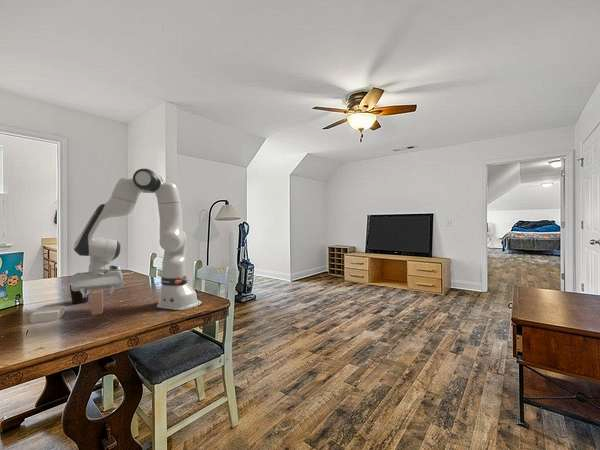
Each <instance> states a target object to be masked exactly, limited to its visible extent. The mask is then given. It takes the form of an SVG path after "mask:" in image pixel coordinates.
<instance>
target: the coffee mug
mask: <svg viewBox="0 0 600 450" xmlns="http://www.w3.org/2000/svg"><path fill="white" fill-rule="evenodd" d="M71 284H72V282H71V283H69V291H70V296H71V304H73V305H82V304H86V303H88V302H89V295H90V290H85V291H84V293H87V298H83V297H82V296H83V295H82V293H81V291H73V290H72V289H71Z"/></svg>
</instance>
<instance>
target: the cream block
mask: <svg viewBox="0 0 600 450" xmlns="http://www.w3.org/2000/svg"><path fill="white" fill-rule="evenodd" d="M63 315H65V305H55V306H47V307H46V306H45V307H38V308H37V309H36V310H34V311H33V312H32V313H31V314H30V324H35V323H44V322H52V321H53V322H54V321H59V320H60V319H61V318H62V317H63Z"/></svg>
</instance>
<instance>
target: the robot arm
mask: <svg viewBox="0 0 600 450" xmlns="http://www.w3.org/2000/svg"><path fill="white" fill-rule="evenodd" d="M141 193H144V194H145V193H147V194H149V193H150V194H151V193H152V194H155V196H156V201H157V209H158V216H159V241H158V242H159V245H160V247H161V249H163V250H164V252H163V258H162V261H161V262H162V264H161V266H162V267H161V268H162V269H161V270H162V271H161V272H162V273H161V278H160V279H161V280H160V284H161V286H160V290H159V295H158V303H157V304H156V308H160V309H167V310H175V311H186V310H191V309H193V307H194V308H196V307H199V306H201V305H202V304H203V302H202V301H201V300H199V299H198V296H197V292H196V291H195V290H194V289H193V288H192V286H190V285H189V283H188V281H189V280H190V279H189V277H187V276H186V256H187V249H188V248H187V246H188V235H187V233H186V232H185V231H184V230H183V228H184V227H183V217H184V216H183V209H182V202H181V195H180V192H179V189H178V186H177V185H176V183H173V182H170V181H163V179H162V177H161V176H160V175H159V174H158V173H157V172H156V171H154V170H152V169H150V168H140V169H137V170H136V171H135V172H134V173H133V174H132V178H131V177H126V176H125V177H121V178H120V179H118V181H117V183H116V184H115V186H114V188H113V189H112V192H111V196H110V198H109V199H108V200H107V201H106V202H105V203H101V204H99V205H98V207H96V209H95V210H94V212H93V214H92V215H91V216H90V218H89V220H88V222H87V224H86V225H85V227H84V228H83V230H82V232H81V233H80V234H79V236H78V237H77V239H76V240H75V241H74V244H73V250H74V252H75V253H76V254H77V255H79V256H82V257H89V262H90V263H89V265H88V271H87V272H86V271H85V272H76V273H74V274H73V275H72V276H71V283H72V284H71V283H70V284H71V289H72V290H73V291H81V293H82V295H83V296H82V297H83V298H87V293H84V291H85V290H89V291H96V290H103V289H104V290H105V289H110V290H107V296H112V293H113V292H114V291H115V289H116V288H122V287H123V286H124V278H123V273H122V271H121V267H120V265H119V266H118V265H113V264H111V261H112V262H113V261H114V260H115V259H117V258H118V257H119V256H120V253H121V243H120V242H119V241H118V240H116V239H112V238H108V237H107V238H105V237H101V236H100V237H99V236H95V235H94V234H95V233H96V231H97V229H98V227H99V226H100V224H101V222H102V221H104V220H106V219H109V218H117V217H119V218H121V217H124V216H128V215H129V214H131V213H132V212H133V211H134V209H135V206H136V204H137V202H138V198H139V196H140V194H141ZM201 303H202V304H201ZM200 304H201V305H200ZM198 305H199V306H198Z"/></svg>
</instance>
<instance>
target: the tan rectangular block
mask: <svg viewBox="0 0 600 450" xmlns="http://www.w3.org/2000/svg"><path fill="white" fill-rule="evenodd" d="M103 313H104V290H103V289H100V290H92V292H91V316H95V315H101V314H103Z"/></svg>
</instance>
